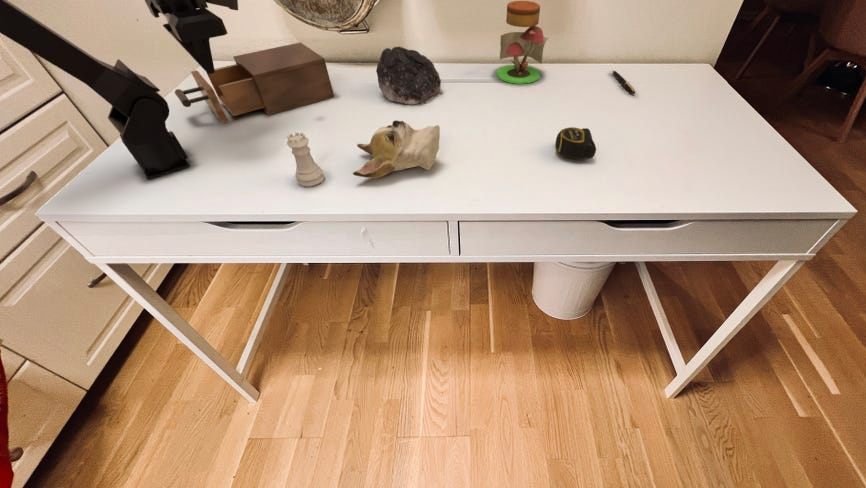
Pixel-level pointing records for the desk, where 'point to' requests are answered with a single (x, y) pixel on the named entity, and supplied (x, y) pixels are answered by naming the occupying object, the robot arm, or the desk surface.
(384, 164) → the ceramic sculpture
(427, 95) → the crystal cluster
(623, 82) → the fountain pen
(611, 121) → the desk surface
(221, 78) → the drawer
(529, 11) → the mushroom figurine
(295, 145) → the rook chess piece
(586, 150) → the tape measure
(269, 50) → the cabinet
